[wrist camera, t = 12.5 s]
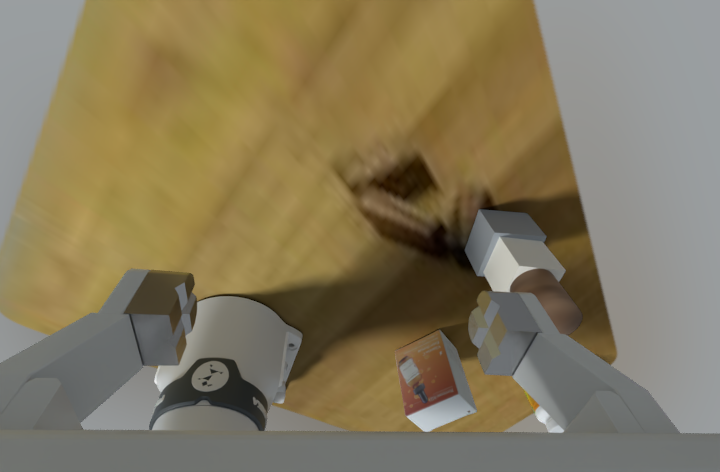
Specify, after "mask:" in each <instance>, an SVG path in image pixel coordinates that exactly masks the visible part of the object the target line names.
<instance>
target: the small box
mask: <svg viewBox="0 0 720 472" xmlns="http://www.w3.org/2000/svg"><path fill="white" fill-rule="evenodd" d="M395 357H396V363H397V368H398V374H399V380H400V386H401V391H402V397H403V403H404V409H405V415H406V417H408V418H409V419H410V420H411V421H412V422H413V423H415V424H416V425H417V426H418V427H419V428H421V429H422V430H423V431H424V432H429V431H431V430H433V429H435V428H437V427H440V426H442V425H444V424H447V423H449V422H452V421H454V420H456V419H459V418H461V417H464V416H466V415H469V414H473V413H475V412H477V409H476V406H475V403H474V400H473V397H472V394H471V391H470V388H469V385H468V382H467V379H466V376H465V373H464V370H463V367H462V364H461V361H460V358H459V355H458V352H457V349H456V348H455V346H454V345H453V344H452V343H451V342H450V341H449V340H448V338H447V337H446V336H445V335H444V334H443V333H442V332H441V330H437V331H435V332H433V333H432V334H430V335H428V336H426V337H424V338H421V339H419V340H417V341H415V342H413V343H411V344H409V345H407V346H405V347H402V348H400V349H397V350H396V351H395Z"/></svg>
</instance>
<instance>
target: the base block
mask: <svg viewBox="0 0 720 472" xmlns="http://www.w3.org/2000/svg"><path fill="white" fill-rule="evenodd" d="M499 237H509V238H517V239H526V240H535V241H542V242H543V243H544V241H545V239H546V237H547V236H546V235H545V234H544V233H543V231H542V230H541V229H540V228H539V227H538V225H537V224H536V223H535V222H534V221H533V220H532V218H531V217H530V216H529V215H528V214H527V213H519V212H507V211H495V210H483V209H479V211H478V214H477V217H476V220H475V222H474V225H473V228H472V231H471V234H470V236H469V239H468V242H467V245H466V248H465V250H464V251H465V253H466V255H467V257H468V259H469V261H470V263H471V265H472V267H473V269H474V271H475V273H476V275H477V276H485V275H484V273H483V272H484V270H485V267H486V265H487V263H488V261H489V259H490V256H491V254H492V252H493V250H494V248H495V246H496V243H497V241H498V239H499Z"/></svg>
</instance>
